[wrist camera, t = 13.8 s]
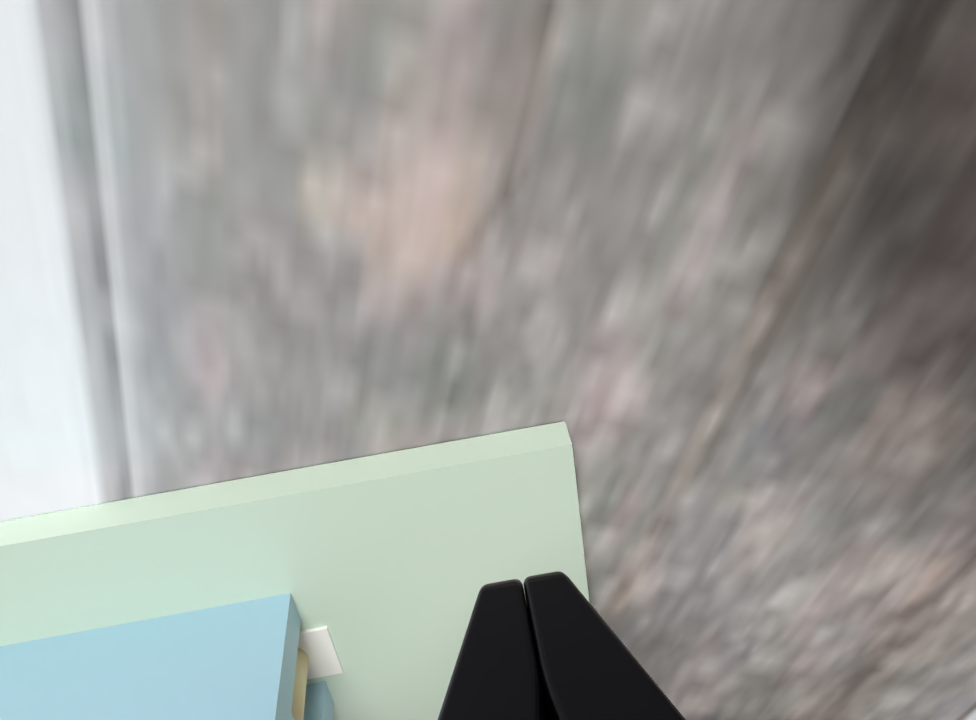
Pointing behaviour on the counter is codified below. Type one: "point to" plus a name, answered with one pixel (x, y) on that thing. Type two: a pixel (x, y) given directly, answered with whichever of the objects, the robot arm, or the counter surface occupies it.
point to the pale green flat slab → (318, 559)
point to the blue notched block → (166, 669)
